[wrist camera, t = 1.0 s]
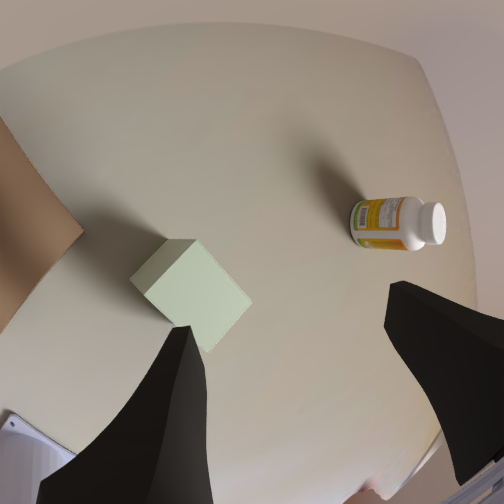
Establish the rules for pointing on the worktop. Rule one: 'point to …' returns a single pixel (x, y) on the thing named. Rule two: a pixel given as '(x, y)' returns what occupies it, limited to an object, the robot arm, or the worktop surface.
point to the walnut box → (27, 227)
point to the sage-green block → (191, 290)
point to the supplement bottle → (397, 223)
